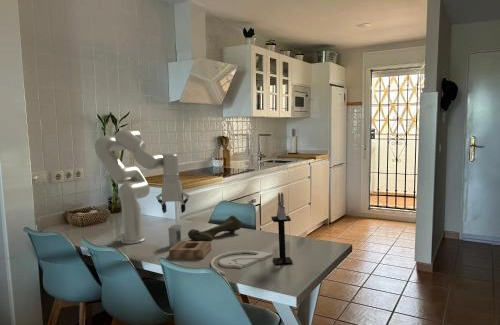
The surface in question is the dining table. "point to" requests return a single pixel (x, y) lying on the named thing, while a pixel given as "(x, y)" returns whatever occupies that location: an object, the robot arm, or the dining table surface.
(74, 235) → the dining table surface
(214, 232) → the bone
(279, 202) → the black pedestal stand
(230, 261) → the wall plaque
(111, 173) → the robot arm
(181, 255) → the well block
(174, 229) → the grey rectangular prism
